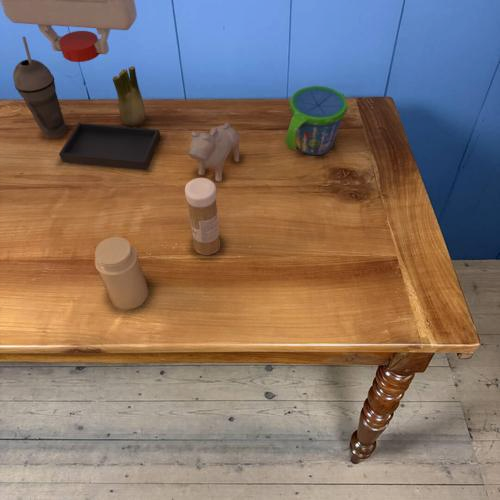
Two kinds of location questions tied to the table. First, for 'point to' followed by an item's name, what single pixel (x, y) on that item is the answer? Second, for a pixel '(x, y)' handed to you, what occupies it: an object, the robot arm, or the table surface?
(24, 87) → the beverage cup
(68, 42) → the lid
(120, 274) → the jar
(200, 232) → the sprinkles bottle
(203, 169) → the dog figurine
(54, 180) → the table surface
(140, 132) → the tray
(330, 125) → the snack cup
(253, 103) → the table surface
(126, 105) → the fennel bulb
